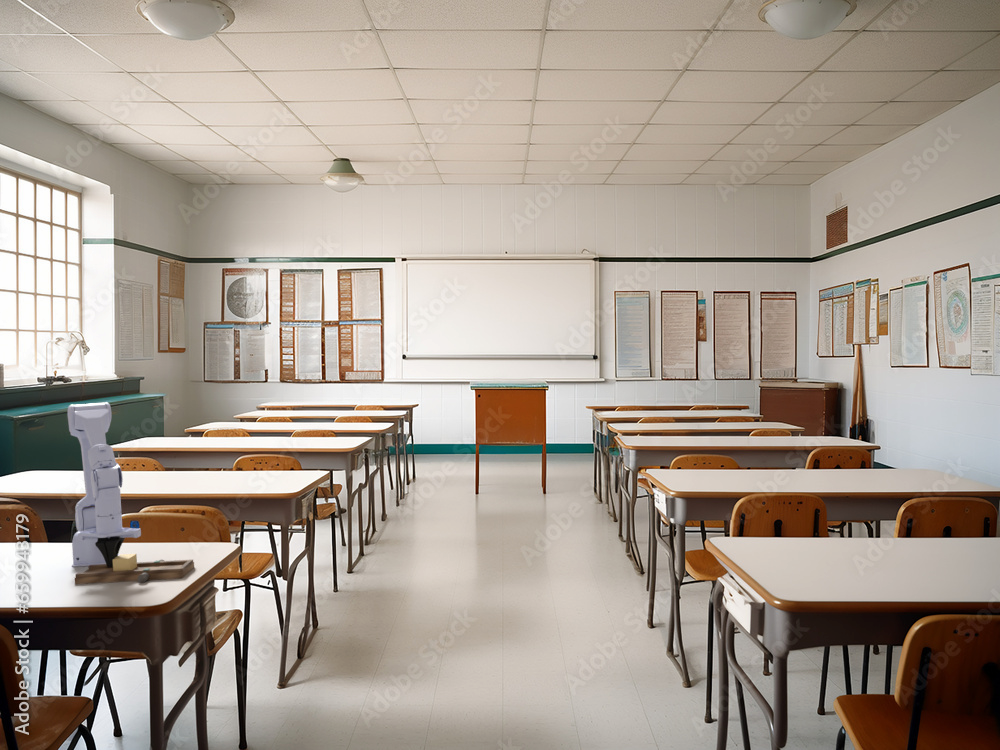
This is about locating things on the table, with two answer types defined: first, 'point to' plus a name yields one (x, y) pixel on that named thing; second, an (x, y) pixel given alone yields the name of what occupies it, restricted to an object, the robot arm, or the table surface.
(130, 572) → the balance beam
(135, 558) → the block
